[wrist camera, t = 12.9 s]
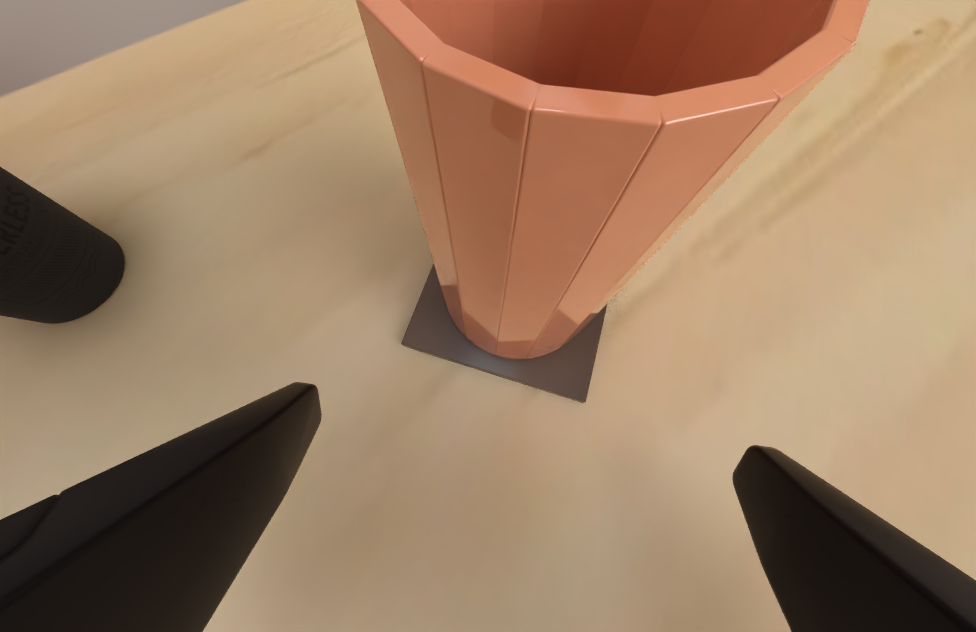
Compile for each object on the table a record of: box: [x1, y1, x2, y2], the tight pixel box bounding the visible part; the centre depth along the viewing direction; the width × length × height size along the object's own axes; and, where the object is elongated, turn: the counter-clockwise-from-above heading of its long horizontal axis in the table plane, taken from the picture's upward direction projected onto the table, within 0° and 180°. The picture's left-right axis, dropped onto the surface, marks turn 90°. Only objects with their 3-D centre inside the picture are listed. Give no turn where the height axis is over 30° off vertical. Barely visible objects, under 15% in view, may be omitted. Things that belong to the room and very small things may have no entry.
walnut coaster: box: [402, 264, 607, 403], centre depth 17 cm, size 8×8×1 cm
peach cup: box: [356, 0, 870, 359], centre depth 11 cm, size 7×7×12 cm
